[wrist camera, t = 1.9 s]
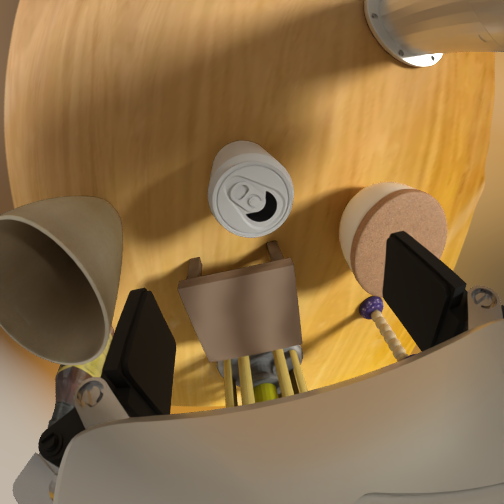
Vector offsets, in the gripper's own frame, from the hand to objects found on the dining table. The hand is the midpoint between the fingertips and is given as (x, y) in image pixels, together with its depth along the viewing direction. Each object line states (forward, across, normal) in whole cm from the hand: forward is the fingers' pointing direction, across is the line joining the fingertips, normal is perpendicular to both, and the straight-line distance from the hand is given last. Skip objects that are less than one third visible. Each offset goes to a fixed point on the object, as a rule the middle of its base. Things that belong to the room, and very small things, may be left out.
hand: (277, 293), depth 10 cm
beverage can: (+22, 0, 0) cm, 22 cm away
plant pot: (+22, +18, +2) cm, 29 cm away
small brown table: (+22, +2, +15) cm, 27 cm away
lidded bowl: (+22, -16, +9) cm, 28 cm away
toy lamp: (+22, -16, +25) cm, 37 cm away
